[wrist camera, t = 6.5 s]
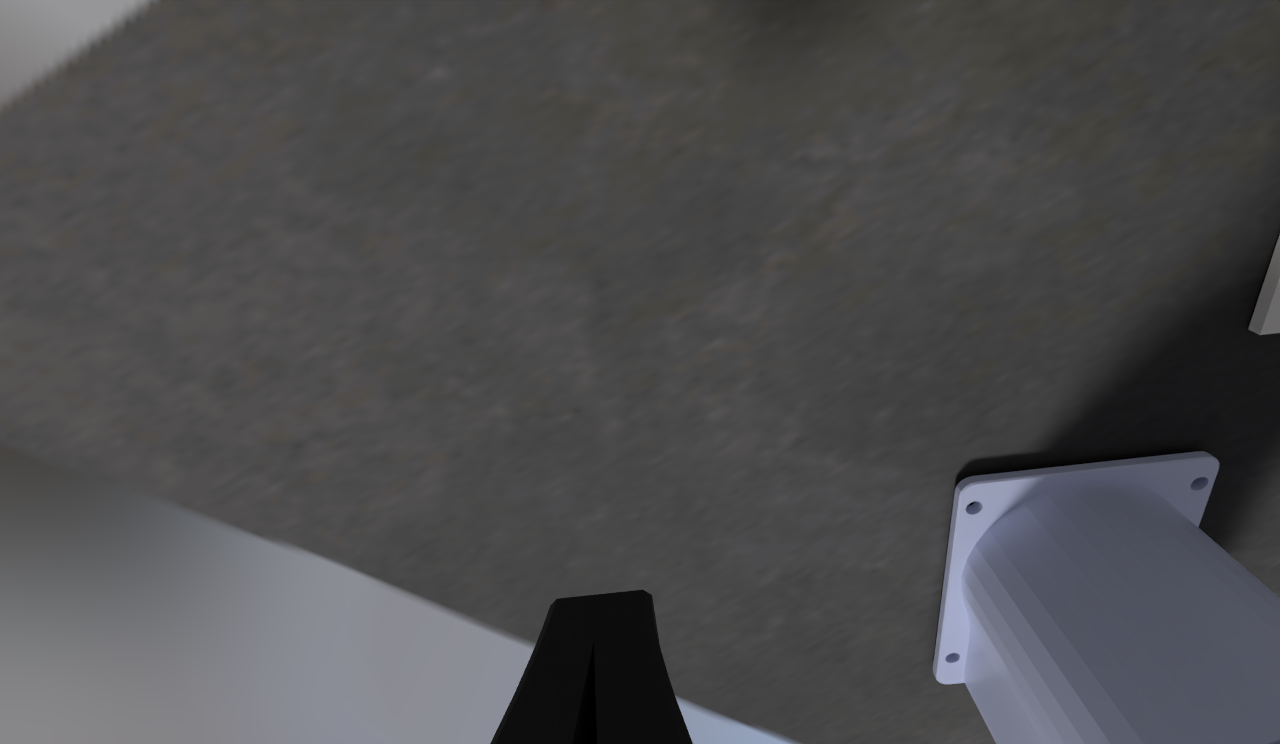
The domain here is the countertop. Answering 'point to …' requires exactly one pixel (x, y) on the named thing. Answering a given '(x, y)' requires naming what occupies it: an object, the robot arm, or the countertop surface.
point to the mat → (1269, 300)
